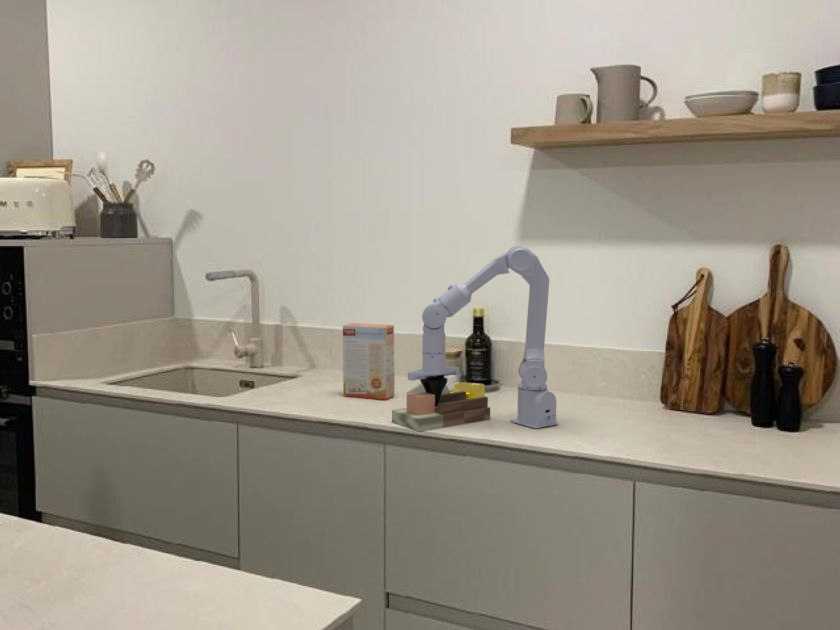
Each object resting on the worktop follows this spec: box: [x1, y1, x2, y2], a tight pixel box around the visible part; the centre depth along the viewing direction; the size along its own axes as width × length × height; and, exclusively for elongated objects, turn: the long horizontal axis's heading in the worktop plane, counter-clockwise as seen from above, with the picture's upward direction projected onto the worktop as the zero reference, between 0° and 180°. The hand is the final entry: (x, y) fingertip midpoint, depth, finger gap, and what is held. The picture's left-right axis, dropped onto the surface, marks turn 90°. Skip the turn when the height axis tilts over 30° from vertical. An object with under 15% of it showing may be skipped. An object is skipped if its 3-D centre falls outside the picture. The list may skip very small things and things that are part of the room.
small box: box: [406, 376, 455, 395], centre depth 222 cm, size 8×6×10 cm
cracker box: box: [342, 323, 395, 401], centre depth 239 cm, size 14×6×21 cm, turn 64°
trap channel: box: [391, 391, 491, 432], centre depth 210 cm, size 12×22×6 cm, turn 125°
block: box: [406, 392, 435, 415], centre depth 206 cm, size 5×5×4 cm
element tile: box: [449, 380, 486, 399], centre depth 236 cm, size 15×15×5 cm
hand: (433, 406), depth 209 cm, fingers closed
